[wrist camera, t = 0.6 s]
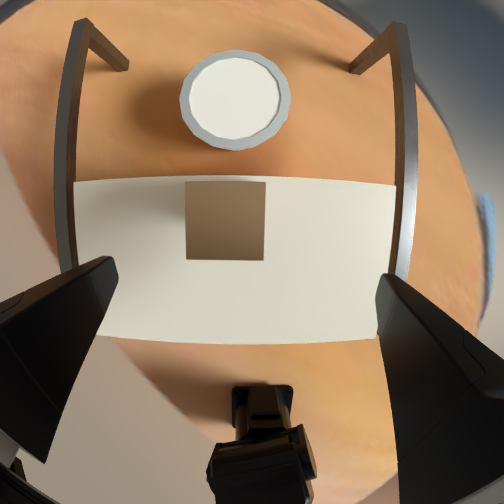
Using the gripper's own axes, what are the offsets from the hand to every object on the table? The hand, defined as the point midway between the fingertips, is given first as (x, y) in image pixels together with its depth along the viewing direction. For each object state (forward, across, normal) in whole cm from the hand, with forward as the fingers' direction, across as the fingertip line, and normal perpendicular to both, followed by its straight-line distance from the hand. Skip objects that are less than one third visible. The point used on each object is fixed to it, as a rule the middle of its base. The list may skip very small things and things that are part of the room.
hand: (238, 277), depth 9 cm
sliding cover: (+7, +2, +4) cm, 8 cm away
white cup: (+18, +3, -3) cm, 18 cm away
